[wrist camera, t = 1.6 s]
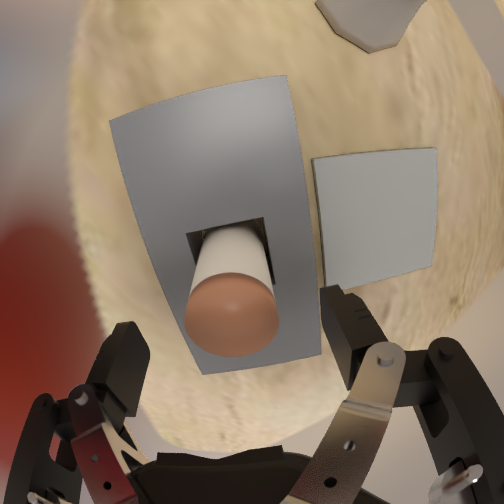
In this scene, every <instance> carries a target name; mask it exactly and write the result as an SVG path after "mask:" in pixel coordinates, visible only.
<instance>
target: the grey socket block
mask: <svg viewBox="0 0 504 504" xmlns="http://www.w3.org/2000/svg"><path fill="white" fill-rule="evenodd" d="M109 123H110V128H111V132H112V136H113V140H114V144H115V148H116V152H117V156H118V160H119V164H120V167H121V171H122V175H123V178H124V182H125V185H126V188H127V192H128V195H129V198H130V201H131V205H132V208H133V211H134V214H135V217H136V220H137V223H138V226H139V229H140V232H141V234H142V237H143V240H144V243H145V246H146V248H147V251H148V254H149V256H150V259H151V262H152V264H153V267H154V270H155V272H156V275H157V277H158V280H159V282H160V285H161V287H162V289H163V292H164V294H165V297H166V299H167V301H168V304H169V306H170V308H171V310H172V313H173V315H174V317H175V319H176V322H177V324H178V326H179V328H180V330H181V333H182V335H183V337H184V339H185V341H186V343H187V345H188V347H189V349H190V351H191V353H192V355H193V357H194V359H195V361H196V363H197V365H198V367H199V369H200V371H201V373H202V375H205V374H214V373H222V372H230V371H237V370H244V369H250V368H256V367H262V366H268V365H273V364H279V363H284V362H289V361H294V360H298V359H303V358H308V357H312V356H316V355H321V332H320V315H319V300H318V287H317V275H316V264H315V253H314V244H313V234H312V226H311V217H310V209H309V202H308V194H307V187H306V180H305V173H304V167H303V160H302V154H301V148H300V142H299V137H298V131H297V125H296V120H295V115H294V109H293V104H292V99H291V94H290V90H289V85H288V80H287V76H286V75H282V76H274V77H266V78H259V79H253V80H247V81H242V82H236V83H231V84H226V85H221V86H217V87H212V88H208V89H204V90H200V91H196V92H192V93H189V94H185V95H181V96H178V97H174V98H171V99H168V100H165V101H161V102H158V103H155V104H152V105H149V106H146V107H144V108H141V109H138V110H135V111H133V112H130V113H127V114H125V115H122V116H120V117H117V118H115V119H112V120H110V121H109ZM260 217H262V222H263V227H264V232H265V238H266V243H267V248H268V253H269V257H266V260H267V265H268V269H269V274H270V278H271V283H272V288H273V292H274V297H275V302H276V306H277V311H278V316H279V327H278V331H277V333H276V335H275V337H274V338H273V340H272V341H271V342H270V343H269V344H268V345H267V346H266V347H264V348H263V349H261V350H259V351H258V352H255V353H253V354H250V355H246V356H241V357H224V356H218V355H215V354H212V353H209V352H207V351H205V350H203V349H202V348H200V347H199V346H197V345H196V344H195V343H194V342H193V341H192V340H191V338H190V337H189V335H188V334H187V332H186V329H185V325H184V316H185V311H186V307H187V303H188V298H189V294H190V290H191V286H192V282H193V278H194V274H195V270H196V266H197V262H198V259H199V255H200V251H201V247H202V244H203V240H202V236H201V233H200V230H203V229H207V228H212V227H217V226H221V225H226V224H231V223H236V222H240V221H245V220H250V219H255V218H260Z"/></svg>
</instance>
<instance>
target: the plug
mask: <svg viewBox="0 0 504 504" xmlns="http://www.w3.org/2000/svg"><path fill="white" fill-rule="evenodd" d="M184 325H185V329H186V332H187V334H188V335H189V337H190V338H191V340H192V341H193V342H194V343H195V344H196V345H197V346H199V347H200V348H202V349H203V350H205V351H207V352H209V353H212V354H215V355H218V356H224V357H241V356H246V355H250V354H253V353H255V352H258V351H259V350H261V349H263V348H264V347H266V346H267V345H268V344H269V343H270V342H271V341H272V340H273V338H274V337H275V335H276V333H277V331H278V327H279V316H278V311H277V306H276V302H275V297H274V292H273V288H272V283H271V278H270V274H269V269H268V265H267V260H266V255H265V251H264V246H263V242H262V237H261V233H260V229H259V225H258V223H257V222H256V220H255V219H250V220H245V221H240V222H236V223H231V224H226V225H221V226H217V227H212V228H207V229H206V233H205V236H204V240H203V244H202V247H201V251H200V255H199V259H198V262H197V266H196V270H195V274H194V278H193V282H192V286H191V290H190V294H189V298H188V303H187V307H186V311H185V316H184Z"/></svg>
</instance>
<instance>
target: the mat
mask: <svg viewBox="0 0 504 504" xmlns="http://www.w3.org/2000/svg"><path fill="white" fill-rule="evenodd" d="M311 160H312V167H313V174H314V181H315V189H316V197H317V205H318V214H319V223H320V232H321V243H322V254H323V267H324V281H325V287H327V286H331V285H335V284H338V285H339V286H340V288H341V289H342V290H344V289H348V288H352V287H356V286H360V285H364V284H368V283H372V282H376V281H380V280H383V279H387V278H391V277H395V276H398V275H402V274H405V273H409V272H412V271H416V270H419V269H423V268H426V267H429V266H432V259H433V251H434V242H435V232H436V218H437V195H438V168H437V148H433V147H429V148H409V149H394V150H381V151H370V152H360V153H351V154H343V155H335V156H327V157H320V158H313V159H311Z"/></svg>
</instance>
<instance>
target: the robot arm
mask: <svg viewBox="0 0 504 504" xmlns="http://www.w3.org/2000/svg"><path fill="white" fill-rule="evenodd" d="M320 305H321V320H322V325H323V329H324V332H325V334H326V337H327V339H328V342H329V344H330V347H331V349H332V352H333V354H334V357H335V359H336V362H337V365H338V367H339V370H340V372H341V375H342V378H343V380H344V383H345V385H346V388H347V391H349V390H350V393H349V395H348V397H347V399H346V400H344V401H343V402H342V403H341V405H340V407H339V409H338V410H337V413H336V415H335V416H334V418H333V420H332V422H331V424H330V426H329V428H328V430H327V432H326V434H325V436H324V437H323V439H322V441H321V443H320V444H319V446H318V448H317V450H316V451H315V453H314V455H313V457H310V456H307V455H303V454H299V453H292V452H284V451H283V448H282V445H279V446H273V447H266V448H259V449H251V450H247V451H244V452H241V453H237V454H234V455H231V456H228V457H224V458H221V459H209V458H204V457H199V456H195V455H190V454H186V453H159V452H158V453H157V460H155V461H152V462H150V461H149V460H148V459H147V458H146V457H145V455H144V454H143V452H142V451H141V449H140V447H139V445H138V444H137V442H136V440H135V438H134V437H133V435H132V433H131V431H130V429H129V428H128V426H127V424H126V423H125V422H124V419H125V417H135V416H136V411H137V408H138V403H139V399H140V395H141V391H142V387H143V383H144V379H145V375H146V371H147V368H148V364H149V360H150V350H149V347H148V345H147V343H146V341H145V340H144V338H143V336H142V334H141V332H140V331H139V329H138V327H137V325H136V323H135V322H133V321H130V322H122V323H117V324H116V326H115V328H114V330H113V332H112V335H109V337H108V338H107V339H106V340H105V341H104V342H103V344H102V346H101V348H100V350H99V353H98V355H97V357H96V360H95V361H94V364H93V366H92V368H91V371H90V373H89V375H88V378H87V380H86V383H85V384H80V385H78V386H76V387H74V388H73V389H72V390H71V391H70V393H69V395H68V398H66V399H62V400H58V401H56V400H55V399H54V398H53V397H52V396H51V395H50V394H48V393H44V394H41V395H39V396H38V397H37V398H36V399H35V400H34V402H33V404H32V407H31V409H30V412H29V414H28V417H27V419H26V422H25V425H24V428H23V430H22V433H21V437H20V439H19V443H18V446H17V449H16V452H15V456H14V459H13V462H12V466H11V470H10V474H9V478H8V483H7V487H6V492H5V498H4V503H3V504H79V499H80V491H81V484H82V479H84V482H85V484H86V487H87V489H88V491H89V494H90V496H91V498H92V500H93V502H94V504H390V503H388V502H386V501H384V500H382V499H381V498H379V497H377V496H375V495H373V494H372V493H370V492H368V491H366V490H365V489H363V488H361V486H362V484H363V482H364V480H365V478H366V476H367V474H368V472H369V470H370V467H371V465H372V463H373V461H374V459H375V456H376V454H377V452H378V449H379V447H380V444H381V442H382V439H383V436H384V434H385V431H386V428H387V426H388V423H389V420H390V417H391V413H392V408H394V407H405V406H413V408H414V410H415V413H416V415H417V418H418V420H419V423H420V425H421V428H422V430H423V433H424V435H425V438H426V441H427V443H428V446H429V449H430V452H431V454H432V457H433V460H434V463H435V466H436V469H437V472H438V475H439V476H438V477H437V478H436V479H435V480H434V481H433V483H432V485H431V486H430V489H429V493H428V497H429V504H504V415H503V413H502V411H501V409H500V407H499V406H498V404H497V402H496V400H495V398H494V397H493V395H492V393H491V391H490V390H489V388H488V386H487V385H486V383H485V381H484V380H483V378H482V376H481V375H480V373H479V372H478V370H477V368H476V367H475V365H474V364H473V362H472V361H471V359H470V358H469V356H468V355H467V353H466V352H465V350H464V349H463V348H462V346H461V345H460V343H459V342H458V341H456V340H454V339H452V338H449V337H440V338H437V339H435V340H434V341H432V342H431V344H430V345H429V348H428V350H417V351H404V350H403V349H402V348H401V347H400V346H399V345H397V344H395V343H392V342H389V341H388V339H387V338H386V336H385V335H384V333H383V331H382V330H381V328H380V327H379V325H378V323H377V322H376V320H375V319H374V317H373V316H372V314H371V312H370V311H369V309H367V306H366V305H365V303H364V302H363V300H362V299H361V298H359V297H358V296H356V295H355V294H353V293H350V294H346V295H345V294H344V293H343V291H342V289H341V288H340V286H339V285H338V284H335V285H331V286H327V287H322V288H320ZM53 434H55V435H56V436H58V437H59V438H60V439H61V441H60V444H59V448H58V452H57V456H56V461H53V460H52V459H51V457H50V455H49V447H50V443H51V440H52V437H53Z"/></svg>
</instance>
